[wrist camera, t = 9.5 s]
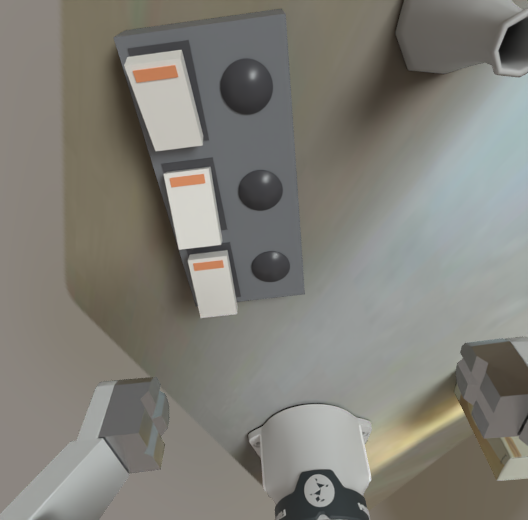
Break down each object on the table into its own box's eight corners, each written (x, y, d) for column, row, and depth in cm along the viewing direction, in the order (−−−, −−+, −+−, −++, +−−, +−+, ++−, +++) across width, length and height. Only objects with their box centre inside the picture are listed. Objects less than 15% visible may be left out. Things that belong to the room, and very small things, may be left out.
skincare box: (461, 364, 52) (510, 457, 43) (494, 361, 52) (551, 453, 42) (452, 392, 56) (496, 483, 47) (483, 389, 56) (533, 479, 46)
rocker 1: (203, 136, 29) (202, 146, 28) (157, 141, 29) (155, 152, 28) (181, 49, 24) (180, 58, 23) (127, 57, 24) (123, 66, 23)
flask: (394, 84, 30) (447, 130, 23) (393, -29, 26) (457, -22, 18) (491, 61, 30) (581, 99, 22) (506, -60, 25) (625, -66, 17)
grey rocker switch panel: (301, 275, 42) (305, 298, 39) (198, 286, 42) (195, 310, 39) (281, 8, 27) (286, 14, 24) (124, 30, 27) (110, 39, 25)
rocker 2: (237, 307, 38) (236, 314, 36) (202, 310, 38) (200, 318, 36) (227, 250, 35) (226, 256, 34) (189, 254, 35) (187, 260, 34)
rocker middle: (222, 240, 32) (220, 245, 31) (181, 245, 32) (178, 250, 31) (210, 166, 30) (208, 168, 29) (167, 172, 31) (163, 174, 29)
